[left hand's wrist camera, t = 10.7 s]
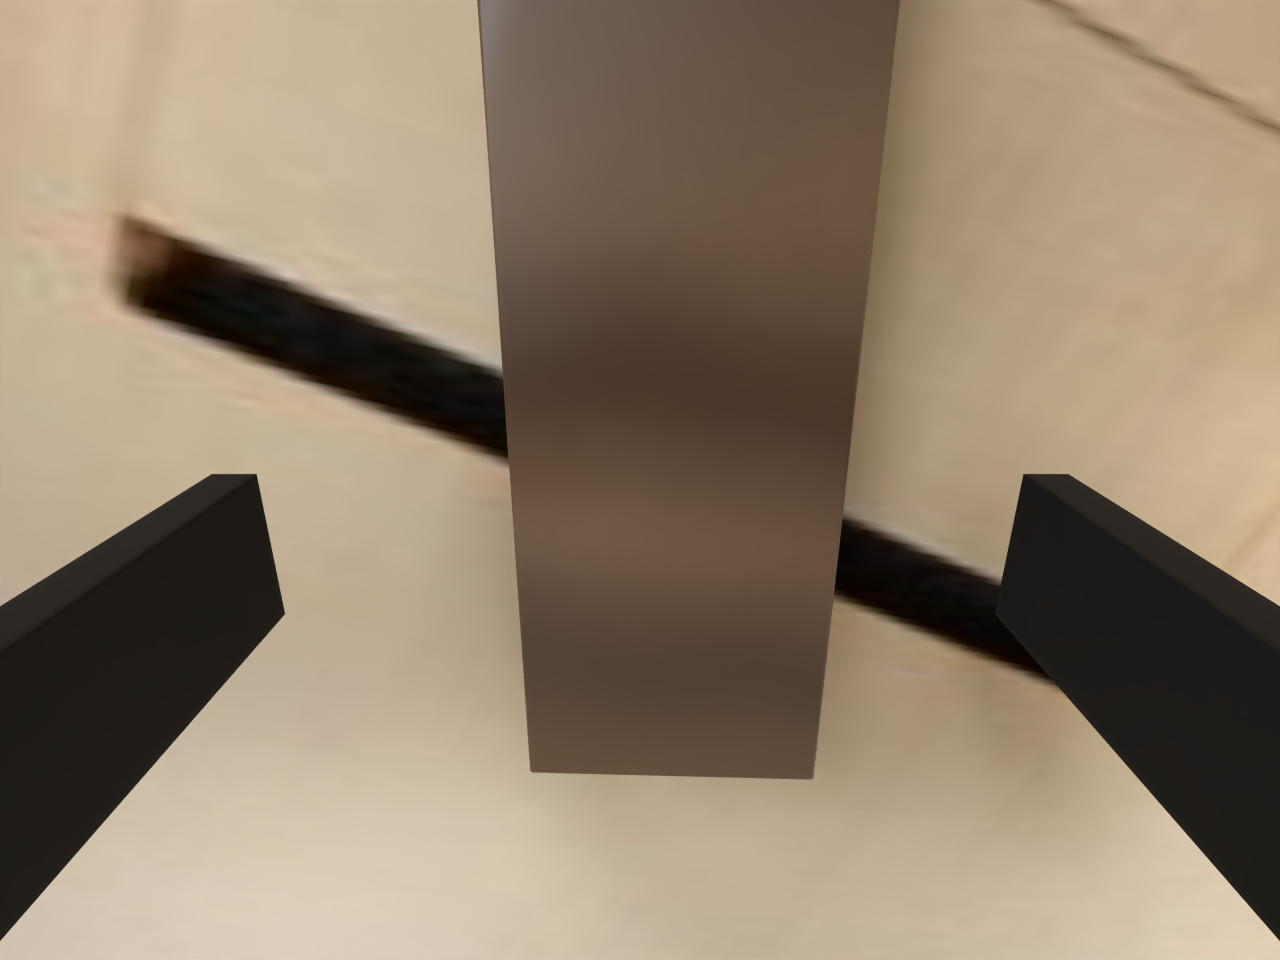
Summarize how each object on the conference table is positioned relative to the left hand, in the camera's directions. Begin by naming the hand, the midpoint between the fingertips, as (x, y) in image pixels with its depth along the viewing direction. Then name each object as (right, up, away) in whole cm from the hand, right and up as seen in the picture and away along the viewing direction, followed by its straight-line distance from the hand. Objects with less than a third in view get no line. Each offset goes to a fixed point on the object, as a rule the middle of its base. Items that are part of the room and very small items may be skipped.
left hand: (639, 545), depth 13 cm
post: (+1, +23, 0) cm, 23 cm away
